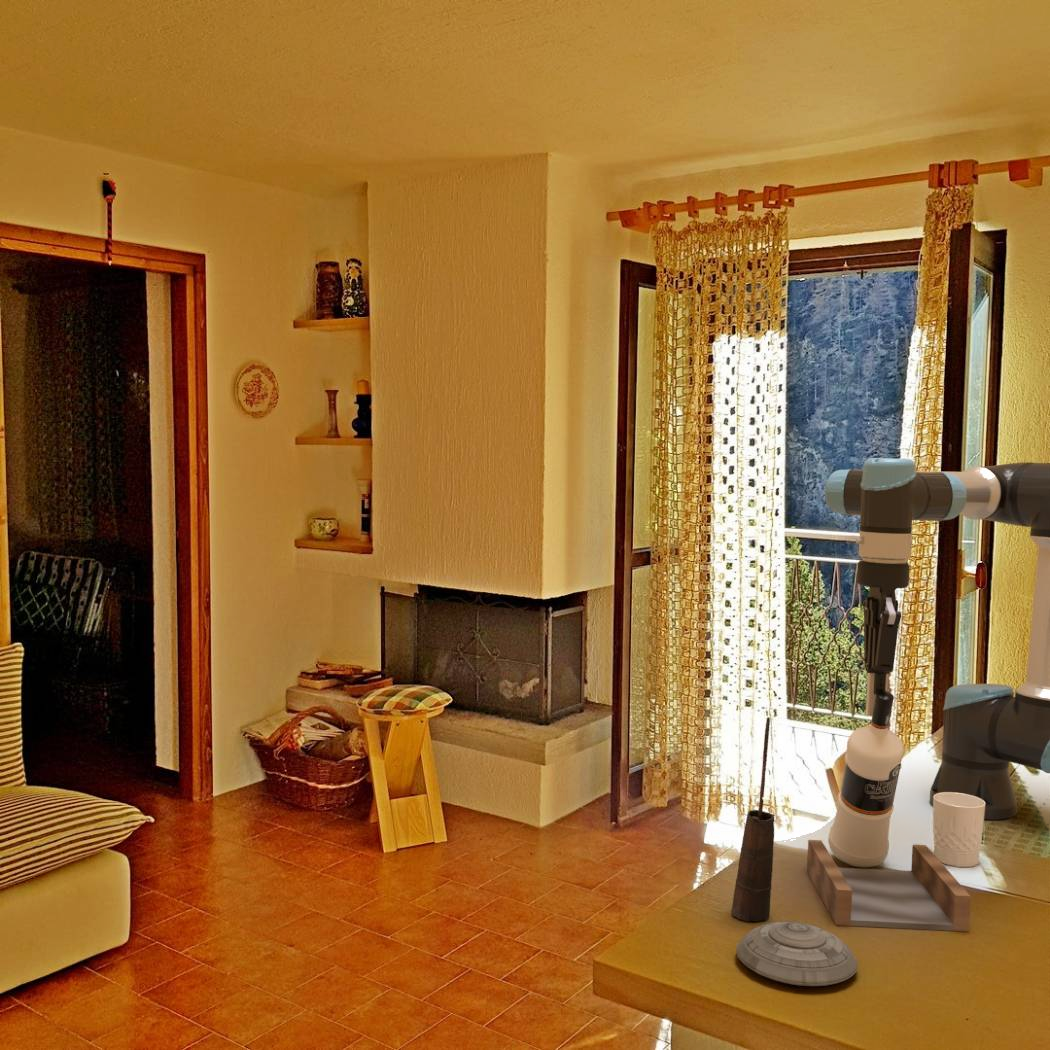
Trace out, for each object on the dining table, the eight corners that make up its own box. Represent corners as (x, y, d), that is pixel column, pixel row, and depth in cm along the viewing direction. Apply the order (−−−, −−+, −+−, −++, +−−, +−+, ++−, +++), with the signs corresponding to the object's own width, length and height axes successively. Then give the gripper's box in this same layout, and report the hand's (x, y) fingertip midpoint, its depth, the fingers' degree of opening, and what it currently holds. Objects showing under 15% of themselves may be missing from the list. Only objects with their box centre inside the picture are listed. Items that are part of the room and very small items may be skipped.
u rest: (806, 871, 174) (808, 839, 174) (924, 876, 173) (925, 845, 173) (835, 925, 154) (837, 889, 154) (968, 931, 153) (970, 896, 153)
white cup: (983, 872, 176) (986, 809, 175) (929, 864, 178) (933, 803, 178) (981, 855, 183) (984, 795, 182) (930, 848, 186) (933, 789, 185)
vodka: (854, 823, 185) (882, 670, 172) (899, 856, 178) (931, 699, 165) (815, 843, 180) (840, 688, 167) (859, 878, 173) (888, 719, 160)
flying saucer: (882, 988, 137) (884, 944, 136) (772, 1002, 132) (774, 957, 132) (816, 936, 151) (818, 897, 150) (715, 947, 147) (717, 907, 146)
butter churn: (761, 939, 149) (770, 732, 147) (702, 917, 155) (710, 719, 154) (797, 919, 155) (806, 721, 154) (738, 899, 162) (746, 709, 160)
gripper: (848, 555, 175) (841, 704, 177) (869, 563, 162) (861, 723, 164) (897, 557, 175) (889, 706, 176) (921, 565, 162) (913, 726, 163)
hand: (875, 714), depth 170 cm, fingers closed
